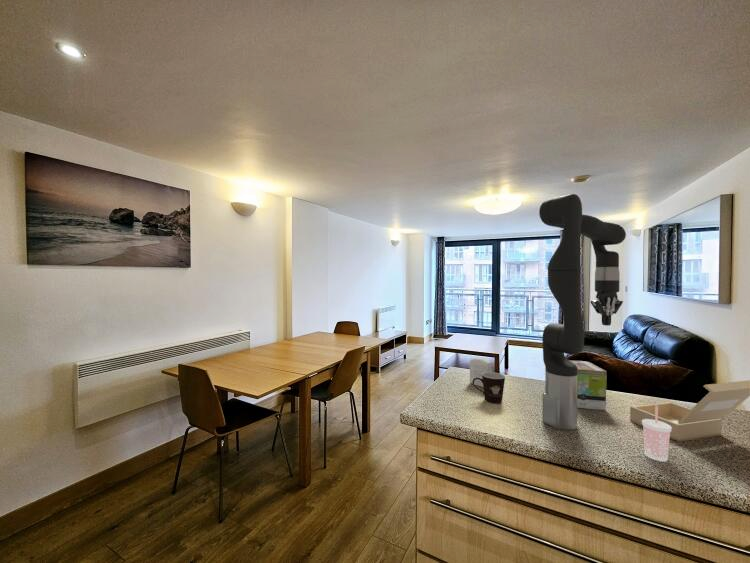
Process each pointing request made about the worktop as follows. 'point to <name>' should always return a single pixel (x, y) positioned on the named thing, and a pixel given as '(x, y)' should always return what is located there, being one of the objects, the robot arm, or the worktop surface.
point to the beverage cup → (656, 438)
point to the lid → (718, 401)
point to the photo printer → (479, 369)
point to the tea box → (590, 386)
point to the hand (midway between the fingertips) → (606, 325)
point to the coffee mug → (492, 386)
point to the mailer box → (676, 421)
